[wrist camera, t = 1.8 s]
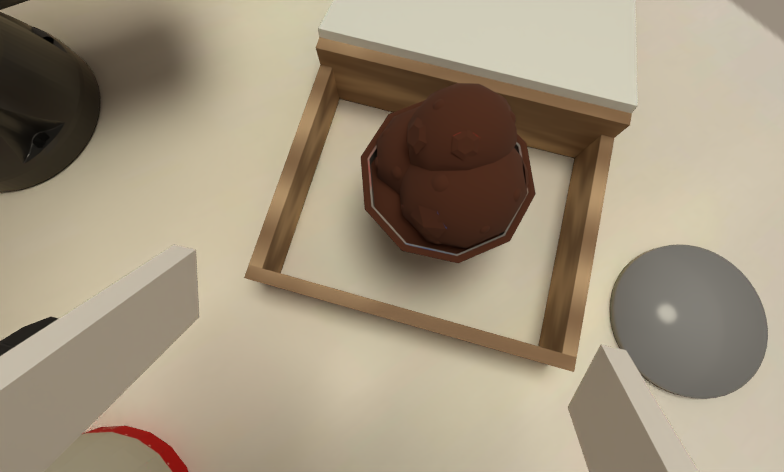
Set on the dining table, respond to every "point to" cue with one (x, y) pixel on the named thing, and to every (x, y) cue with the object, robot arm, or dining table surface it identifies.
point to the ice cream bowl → (449, 174)
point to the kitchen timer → (118, 453)
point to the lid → (506, 41)
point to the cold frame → (534, 125)
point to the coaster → (689, 321)
